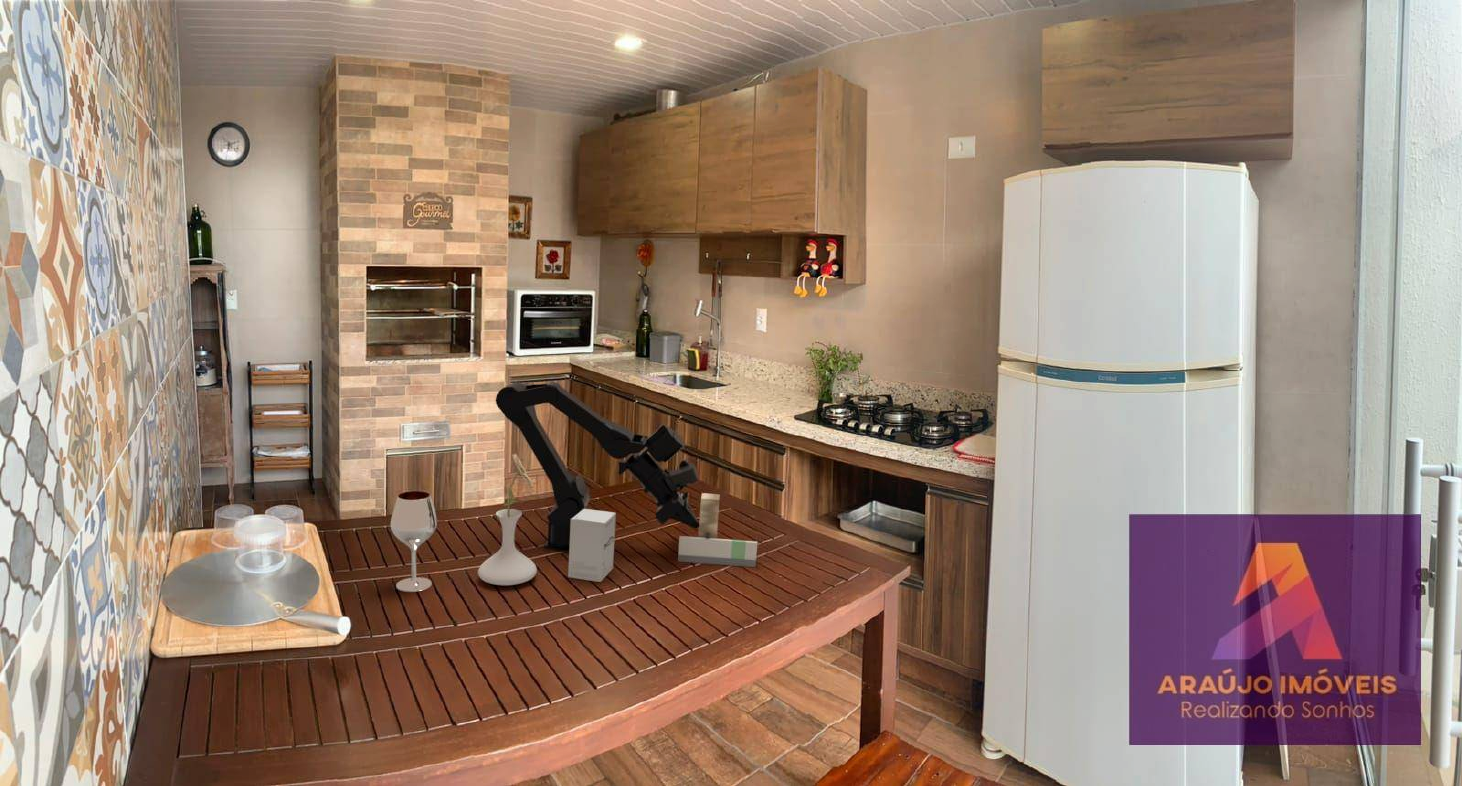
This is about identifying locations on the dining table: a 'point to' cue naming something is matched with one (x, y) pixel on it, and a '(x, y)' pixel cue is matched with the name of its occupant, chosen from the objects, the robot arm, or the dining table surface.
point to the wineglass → (413, 530)
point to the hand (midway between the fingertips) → (698, 526)
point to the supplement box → (591, 545)
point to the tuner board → (717, 551)
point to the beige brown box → (709, 515)
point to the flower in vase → (509, 546)
